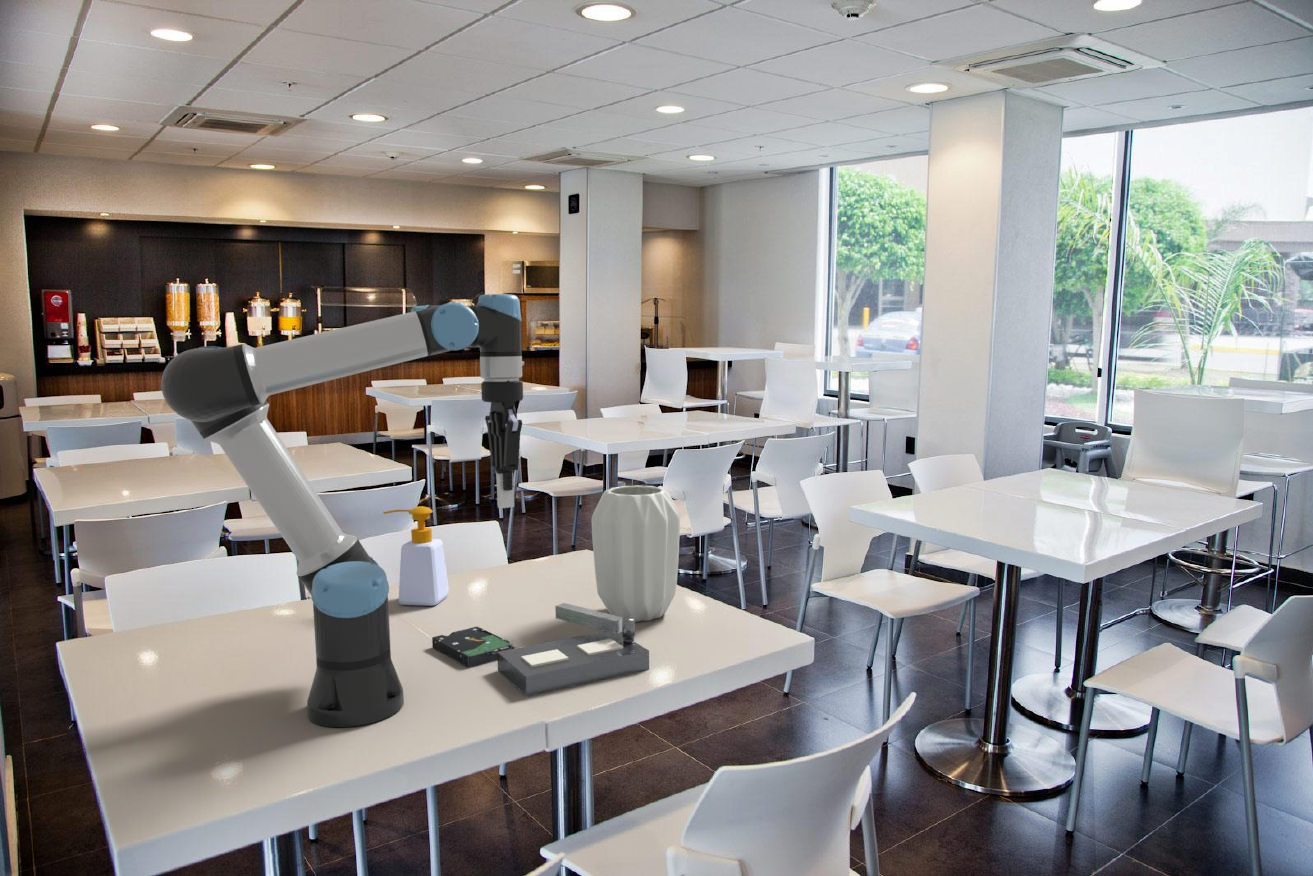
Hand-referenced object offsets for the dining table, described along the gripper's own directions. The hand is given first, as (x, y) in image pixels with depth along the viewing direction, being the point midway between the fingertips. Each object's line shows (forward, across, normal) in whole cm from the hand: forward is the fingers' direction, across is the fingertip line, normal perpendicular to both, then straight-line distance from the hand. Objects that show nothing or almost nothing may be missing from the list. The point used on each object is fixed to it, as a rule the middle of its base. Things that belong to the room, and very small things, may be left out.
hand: (505, 506), depth 169 cm
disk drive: (+30, +8, +4) cm, 32 cm away
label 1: (+26, -12, -2) cm, 29 cm away
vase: (+30, +12, -34) cm, 47 cm away
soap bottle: (+30, +48, +5) cm, 57 cm away
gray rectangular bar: (+25, -4, -16) cm, 30 cm away
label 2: (+26, -12, -13) cm, 31 cm away
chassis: (+29, -11, -8) cm, 32 cm away
